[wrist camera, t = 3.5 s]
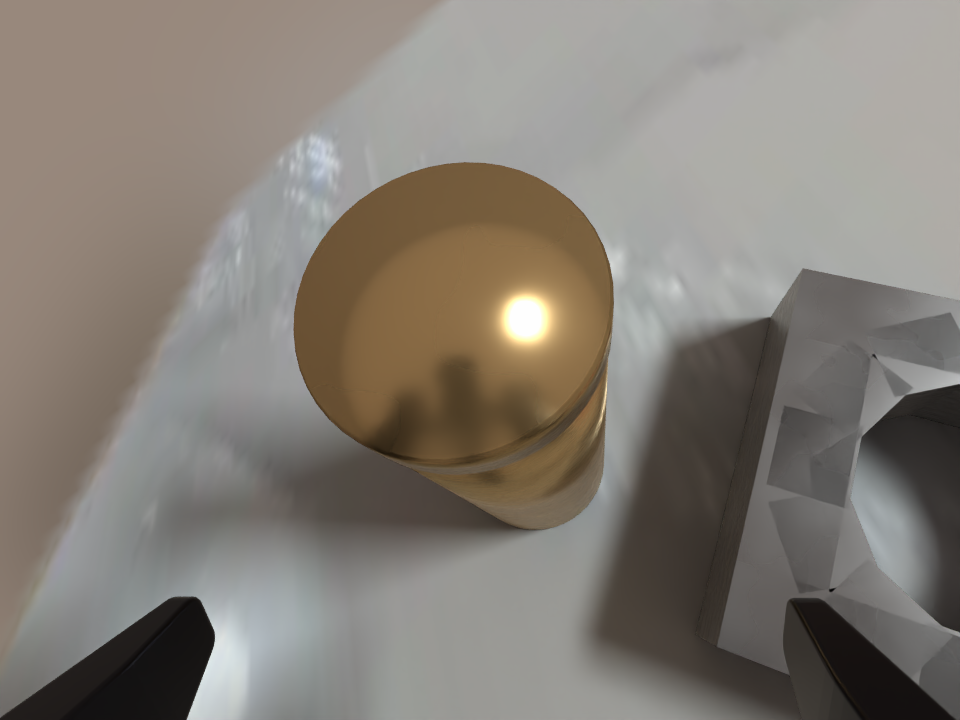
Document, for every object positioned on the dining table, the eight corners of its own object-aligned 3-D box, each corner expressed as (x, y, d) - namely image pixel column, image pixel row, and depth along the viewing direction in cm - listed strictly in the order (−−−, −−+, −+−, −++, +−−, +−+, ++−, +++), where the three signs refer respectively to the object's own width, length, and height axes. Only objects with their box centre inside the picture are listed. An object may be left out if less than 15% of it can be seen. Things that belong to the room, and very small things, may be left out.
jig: (1143, 808, 15) (1295, 872, 12) (695, 634, 18) (716, 646, 15) (1159, 405, 18) (1284, 366, 14) (771, 316, 21) (803, 268, 18)
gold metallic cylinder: (511, 559, 20) (375, 532, 8) (442, 438, 22) (245, 267, 10) (634, 481, 20) (688, 333, 8) (554, 367, 22) (499, 109, 10)
